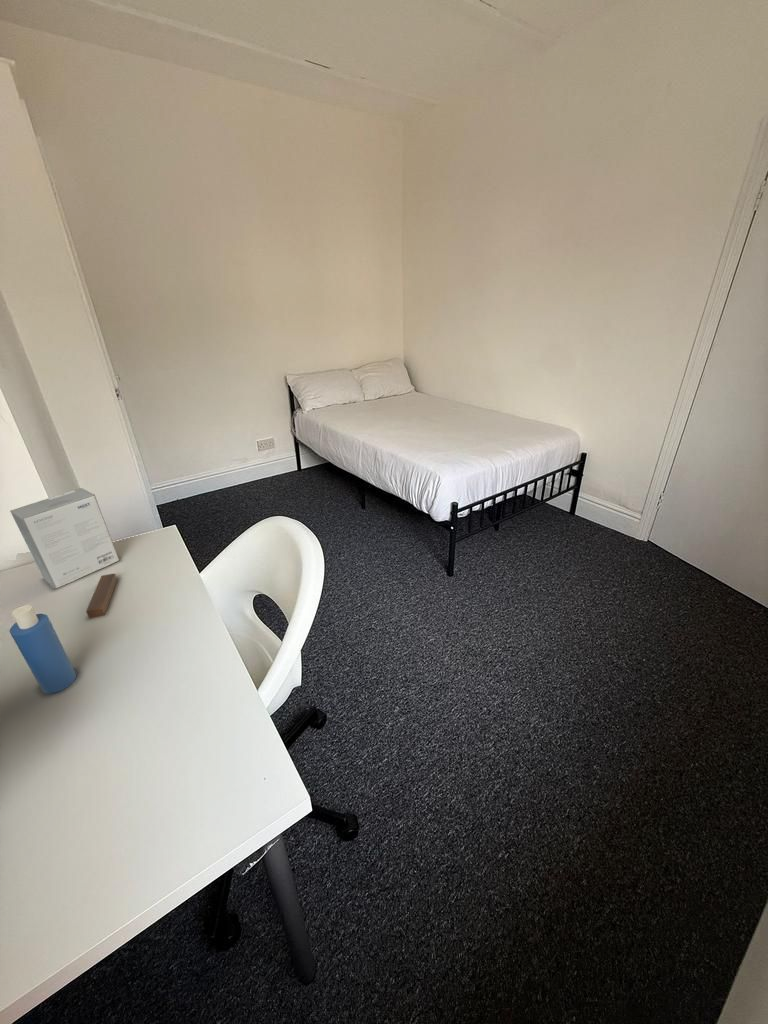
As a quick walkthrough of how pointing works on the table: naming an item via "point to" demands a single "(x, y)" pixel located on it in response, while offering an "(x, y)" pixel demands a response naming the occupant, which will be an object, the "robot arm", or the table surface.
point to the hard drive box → (66, 536)
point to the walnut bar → (101, 596)
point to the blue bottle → (42, 650)
